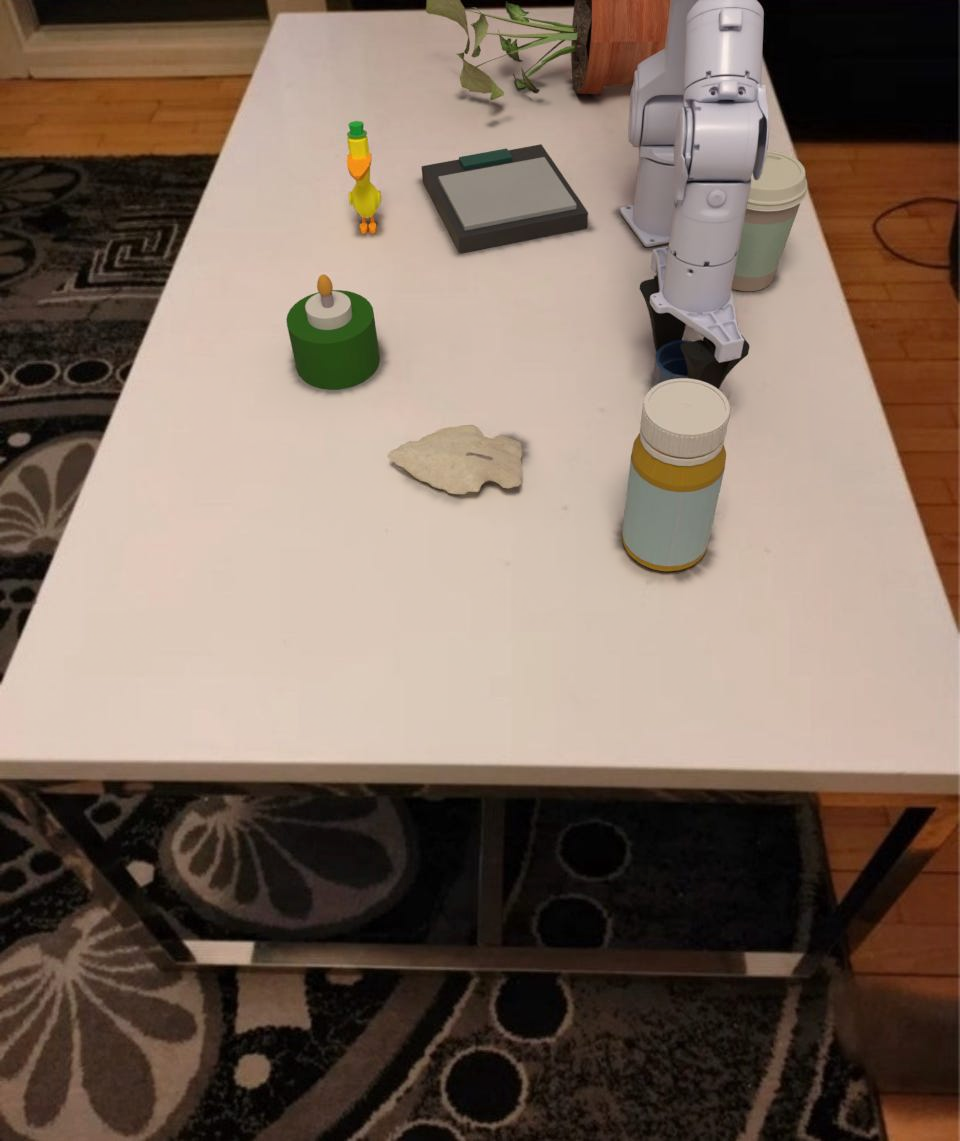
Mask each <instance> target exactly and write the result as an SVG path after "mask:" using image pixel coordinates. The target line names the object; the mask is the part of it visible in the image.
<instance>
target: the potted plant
mask: <svg viewBox="0 0 960 1141" xmlns="http://www.w3.org/2000/svg"><path fill="white" fill-rule="evenodd" d="M670 1H671V0H574V5H573V6H574V7H573V14H572V24H571V25H570V24H563V23H560V22H556V21H550V20H542V19H535V18H532V17H526V16H527V15H528V14H530V12H529V11H525V9H522V8H521V6H520V5H518V4H514V3H509V2H508V1H507V0H506V1H505V12H506V13H507V14H508V16H509V18H505V17H500V16H496V15H491V14H487V13H482V12H481V11H480V10H479V9H478V8H477V7H474V6H471V8H472V9H475V10H476V11H473V10H468V9H465V6H464V4H463V3H462V1H461V0H426V4H425V5H426V6H425V11H426V13H427V14H429V15H433V16H440V17H443V18H446V19H449V20H451V21H453V22H456V23H457V24H459V26H460V27H461V28H462V29H463V30H464V31H465V34H466V36H467V42H466V46H465V49H464V51H463V52H459V53H455V55H456V56H458V57H459V58H460V59H461V60H462V70H461V71H460V72H461V73H460V75H459V81H460V86H461V88H463V89H466V90H468V91H469V92H472V93H481V94H490V98H489V99H490V101H494V100H496V99H498V98H501V97H503V96H505V92H504V90H502V89H501V88H500V87H499V86H498V85H497V84H496V82H494V80H493V78H491V77H490V76H489V75H488V74H487V73H485V72H484V71H483V70H482V69H480V68H479V67H480V66H483V65H485V64H487V63H489V62H492V61H495V60H497V59H500V58H503V57H505V56H508V57H509V58H511V59H512V60H513V61H515V62H518V63H521V62H523V60H522V59H521V58H520V55H519V52H520V51H525V50H528V49H531V48H534V47H537V46H541V45H546V44H549V43H553V42H557V41H558V43H556V44H555V45H554V46H553V47H551V48H550V50H548V51H547V52H546V53H545V54H543V56H542V57H540V58H539V59H538V61H536V62H535V63H534V64H533V65H532V66H531V67H530V68H528V69H527V70H526V71H524V69H523V68H521V70H520V71H521V76H520V77H521V78H522V80H523V81H522V80H520V79H518V78H516V74H515V73H513V74H512V75H513V78H514V81H515V83H516V87H517V88H518V89H524V88H527V89H528V91H529V92H532V93H533V94H539V92H540V90H541V89H539V88H537V86H535V85H534V83H533V82H532V81H531V80H530V79H529V77H531V76H532V75H534V74H535V73H537V72H538V71H539V70H541V69H542V68H543V67H544V66H545V65H546V64H547V63H549V62H552V61H553V60H555V59H557V58H559V57H561V56H564V55H567V54H570V56H571V57H570V59H571V60H570V61H571V76H572V82H573V88H574V90H575V93H576V94H582V95H583V94H585V95H586V94H590V95H591V94H592V95H596V94H597V95H598V94H599V95H600V94H601V93H602V91H603V90H604V88H605V87H612V86H613V87H614V86H620V85H622V86H623V85H631V84H633V82H634V73H635V71H636V70H637V66H638V64H639V63H641V62H642V61H644V60H645V59H647V58H649V57H651V56H652V55H654V54H656V53H657V52H659V51H661V50H663V49H664V48H665V43H666V35H667V26H668V18H669V9H670ZM467 11H468V12H471V13H473V14H478V15H479V18H478V19H477V20H476V22H473V23H471V24H470V26H471V27H472V29H473V30H474V46H473V51H472V53H471V55H470V57H472V58H478V57H479V56H480V54H481V52H482V49H481V45H480V44H481V43H482V42H483V41H484V39H485V38H486V36H487V35H493V36H494V35H495V36H499V42H500V46H501V50H502V51H503V52H505V53H506V54H504V55H501V56H499V57H496V58H493V59H490V60H487V61H484V62H483V63H480V64H478V65H476V66H475V65H473V64H472V63H471V62H468V61H467V60H466V59H465V55H468V54H469V51H470V46H471V41H470V40H471V39H470V35H469V28H468V19H467V18H468V17H467V13H466V12H467ZM486 17H489V18H492V19H496V20H500V21H504V22H506V23H511V24H516V25H520V26H526V27H528V28H529V27H530V28H534V29H539V30H546V31H551V32H546V33H545V32H543V33H522V34H520V33H519V34H518V33H517V34H514V33H513V34H511V33H500V29H498V32H497V33H496V32H488V29H489V25H490V24H489V22H488V20H487V18H486ZM530 21H533V22H530ZM535 22H536V23H535ZM504 37H507V39H506V38H504ZM508 37H509V38H508ZM512 38H516V39H515V40H514V41H512ZM518 38H519V39H534V40H533V41H530V42H528V43H525V44H523V45H520V46H518ZM565 41H571V44H570V45H569V46H565V47H563V48H561V49H559V50H557V51H555V52H553V53H552V51H554V50H555V49H556V48H557V47H559V46H560V45H561V44H562V43H564V42H565ZM550 53H552V54H550ZM549 54H550V55H549ZM539 63H540V64H539ZM537 64H539V65H538V66H536V65H537ZM535 66H536V67H535ZM533 67H534V68H533ZM530 70H531V71H530ZM529 71H530V72H529ZM527 73H528V74H527Z"/></svg>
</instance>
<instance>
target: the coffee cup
mask: <svg viewBox="0 0 960 1141" xmlns="http://www.w3.org/2000/svg"><path fill="white" fill-rule="evenodd" d="M751 180H752V182H751V187H750V193H749V198H748V203H747V208H746V214H745V219H744V224H743V229H742V235H741V240H740V245H739V251H738V256H737V261H736V266H735V271H734V277H733V282H732V287H731V290H735V291H739V292H758V291H761V290H764V289H765V288H767V287H769V286H770V285H771V284H772V283H773V281H774V277H775V274H776V271H777V269H778V266H779V264H780V261H781V258H782V256H783V253H784V250H785V248H786V245H787V242H788V239H789V236H790V233H791V231H792V228H793V225H794V222H795V221H796V220H795V219H796V217H797V214H798V212H799V210H800V206H801V203H802V202H803V201H804V200H805V199H806V196H807V194H808V180H807V178H806V169H805V167H804V165H803V164H802V162H800V161H799V160H798V159H796V158H795V157H793V156H792V155H790V154H787V153H784V152H780V151H777V150H769V149H767V155H766V159H765V163H764V167H763V171H762V174H761V176H760V178H759V179H758V180H755V179H754V177H753V172H752V175H751Z"/></svg>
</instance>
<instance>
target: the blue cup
mask: <svg viewBox="0 0 960 1141" xmlns="http://www.w3.org/2000/svg"><path fill="white" fill-rule="evenodd" d="M692 341H693V340H690V339H682V340H675V341H671V342H669V343H666V344H664V345H662V346H661V347H660V348H659V349H658V351H657V352H656V351H655V355H654V363H653V365H654V366H653V372H652V380H651V389H652V388H653V387H654V386H656V385H657V384H659V383H661V382H664V381H667V380H671V379H678V378H688V370H687V364H686V360H685V357H684V354H683V352H682V350H681V348H680V347H681V344H683V343H688V342H692Z"/></svg>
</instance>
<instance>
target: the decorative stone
mask: <svg viewBox="0 0 960 1141" xmlns="http://www.w3.org/2000/svg"><path fill="white" fill-rule="evenodd" d="M522 456H523V448H522V444H521V441H518V440H516V439H513V438H511V437H508V436H506V435H503V434H499V435H497V436H495V437H488V436H485V435H484V433H483V431H481V430H480V428H479V427H478V426H476V425H474V424H463V425H459V426H448V427H447V426H446V427H443V428H441V429H438V430H437V431H434V432H433V433H430V434H426V435H425V436H422V438H420V439H419V440H416V441H414V440H413V441H410V440H409V441H407V442H406V443H403V444H401V445H399V447H397V448H394V449H392V450H391V451H389V452H388V453H387V458H388V459H390V460H391V461H393V462H394V464H396V465H397V466H398V467H402V468H403V469H405V471H406V472H407V473H409V474H410V475H411V476H412V477H413V478H414V479H416V480H418V481H420V482H422V483H423V482H425V483H428V484H429V485H430V486H431V487H433V488H435V489H439V490H444V491H446V492H447V493H448V494H451V495H452V494H453V495H466V494H467V493H479V492H480V490H481V487H482V485H483V484H485V483H486V482H494V483H496V484H498V485H499V486H500V487H501V488H504V489H512V488H517V487H520V486H522V480H523V477H522V476H523V475H522V469H523V468H522V467H523V466H522Z"/></svg>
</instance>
